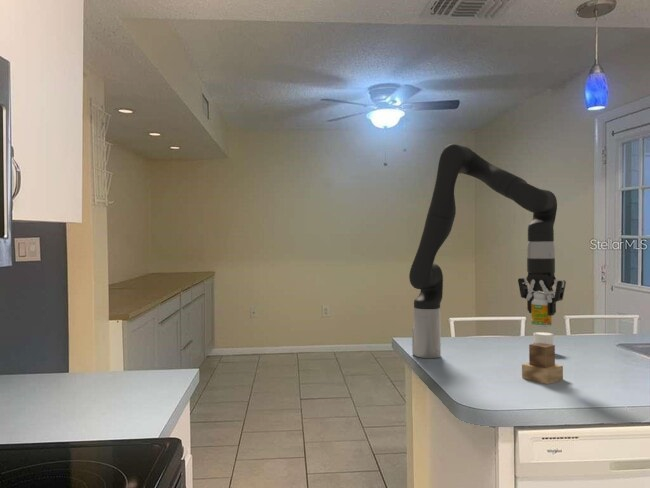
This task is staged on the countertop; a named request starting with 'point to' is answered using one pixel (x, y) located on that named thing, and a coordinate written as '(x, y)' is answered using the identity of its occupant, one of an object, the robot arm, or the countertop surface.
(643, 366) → the countertop surface
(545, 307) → the supplement bottle
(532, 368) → the oak pedestal
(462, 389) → the countertop surface
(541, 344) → the walnut block
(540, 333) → the white cylinder
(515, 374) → the countertop surface
